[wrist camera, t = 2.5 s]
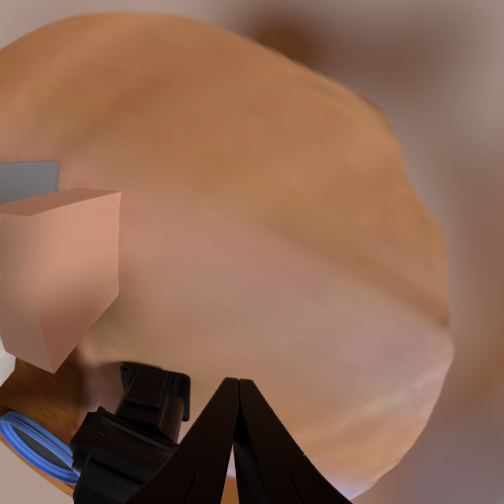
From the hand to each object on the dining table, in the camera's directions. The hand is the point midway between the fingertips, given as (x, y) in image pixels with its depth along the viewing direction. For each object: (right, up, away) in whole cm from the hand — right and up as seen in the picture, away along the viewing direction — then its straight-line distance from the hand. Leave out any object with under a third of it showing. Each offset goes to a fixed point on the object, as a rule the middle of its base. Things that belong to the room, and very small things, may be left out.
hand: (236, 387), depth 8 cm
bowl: (-36, -29, +20) cm, 51 cm away
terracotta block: (-11, +5, +11) cm, 16 cm away
